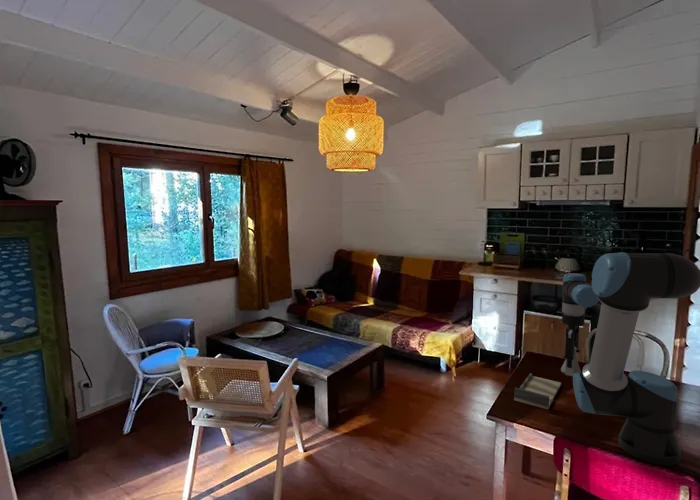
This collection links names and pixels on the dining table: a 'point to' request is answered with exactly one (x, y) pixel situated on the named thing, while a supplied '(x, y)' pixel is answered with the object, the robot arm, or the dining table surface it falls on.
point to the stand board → (537, 391)
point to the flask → (576, 365)
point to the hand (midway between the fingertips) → (571, 371)
